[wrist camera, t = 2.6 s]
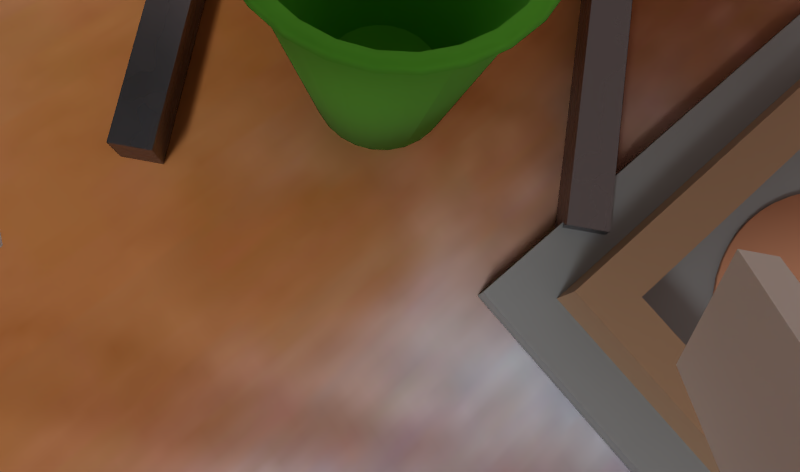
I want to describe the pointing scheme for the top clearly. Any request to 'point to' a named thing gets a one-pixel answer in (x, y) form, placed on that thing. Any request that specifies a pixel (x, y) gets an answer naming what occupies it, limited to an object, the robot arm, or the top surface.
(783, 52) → the socket board
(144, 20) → the dark grey u frame
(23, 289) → the top surface
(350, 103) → the cup
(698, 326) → the robot arm
